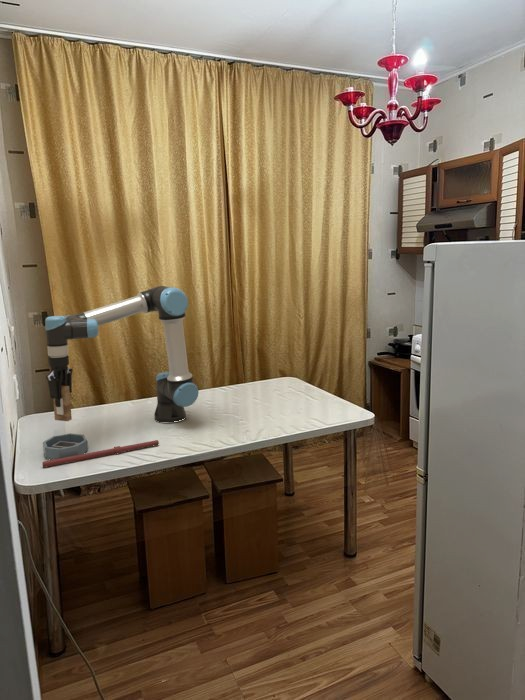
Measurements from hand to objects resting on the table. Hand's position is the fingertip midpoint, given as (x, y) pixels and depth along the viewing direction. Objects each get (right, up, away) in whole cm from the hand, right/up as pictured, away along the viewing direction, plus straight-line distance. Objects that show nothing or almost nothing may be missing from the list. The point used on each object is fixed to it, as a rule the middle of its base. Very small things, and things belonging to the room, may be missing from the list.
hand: (62, 412), depth 204 cm
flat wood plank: (0, -3, +1) cm, 3 cm away
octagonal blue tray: (0, -17, +3) cm, 17 cm away
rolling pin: (+16, -18, 0) cm, 24 cm away
